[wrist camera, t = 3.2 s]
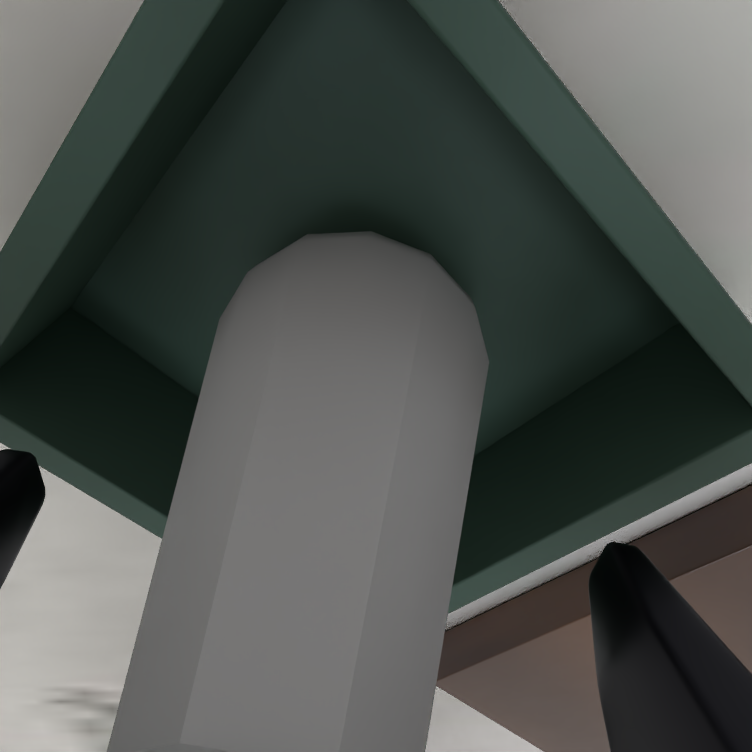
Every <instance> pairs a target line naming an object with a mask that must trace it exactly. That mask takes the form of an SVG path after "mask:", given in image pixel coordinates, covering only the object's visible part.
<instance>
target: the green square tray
mask: <svg viewBox="0 0 752 752" xmlns="http://www.w3.org/2000/svg"><path fill="white" fill-rule="evenodd" d="M366 231H372V232H375V233H377V234H380V235H382V236H385V237H387V238H390V239H393V240H395V241H398V242H400V243H403V244H406V245H408V246H411V247H413V248H416V249H419V250H421V251H424V252H426V253H429V254H431V255H432V256H433V257H434V258H435V259H436V261H437V262H438V263H439V264H440V265H441V266H442V267H443V268H444V269H445V270H446V271H447V272H448V274H449V275H450V276H451V277H452V278H453V279H454V280H455V281H456V282H457V283H458V284H459V285H460V287H461V288H462V289H463V290H464V291H465V292H466V293H467V294H468V295H469V296H470V297H471V299H472V302H473V304H474V306H475V309H476V313H477V316H478V320H479V324H480V328H481V332H482V336H483V340H484V343H485V347H486V351H487V355H488V359H489V366H488V372H487V378H486V384H485V391H484V397H483V403H482V409H481V415H480V421H479V427H478V433H477V439H476V445H475V451H474V457H473V463H472V469H471V476H470V482H469V488H468V494H467V500H466V506H465V512H464V518H463V524H462V530H461V536H460V542H459V548H458V554H457V560H456V567H455V573H454V579H453V585H452V591H451V597H450V603H449V609H448V614H449V613H451V612H453V611H455V610H457V609H459V608H461V607H463V606H465V605H467V604H469V603H471V602H473V601H475V600H477V599H479V598H481V597H483V596H485V595H487V594H489V593H491V592H493V591H495V590H497V589H499V588H501V587H503V586H505V585H507V584H509V583H511V582H513V581H515V580H517V579H519V578H521V577H523V576H525V575H527V574H529V573H531V572H533V571H535V570H537V569H539V568H541V567H543V566H545V565H547V564H549V563H551V562H553V561H555V560H557V559H559V558H561V557H563V556H565V555H567V554H569V553H571V552H573V551H575V550H577V549H579V548H581V547H583V546H585V545H588V544H590V543H592V542H594V541H596V540H598V539H600V538H602V537H604V536H606V535H608V534H610V533H612V532H614V531H616V530H618V529H620V528H622V527H624V526H626V525H628V524H630V523H632V522H634V521H636V520H638V519H640V518H642V517H644V516H646V515H648V514H650V513H652V512H654V511H656V510H658V509H660V508H662V507H664V506H666V505H668V504H670V503H672V502H674V501H676V500H678V499H680V498H682V497H684V496H686V495H688V494H690V493H692V492H694V491H696V490H698V489H700V488H702V487H704V486H706V485H708V484H710V483H712V482H714V481H716V480H718V479H720V478H722V477H724V476H726V475H728V474H731V473H733V472H735V471H737V470H739V469H741V468H743V467H745V466H747V465H749V464H751V463H752V324H751V323H750V322H749V320H748V319H747V318H746V316H745V315H744V314H743V313H742V311H741V310H740V309H739V307H738V306H737V305H736V304H735V302H734V301H733V300H732V299H731V297H730V296H729V295H728V293H727V292H726V291H725V290H724V288H723V287H722V286H721V284H720V283H719V282H718V281H717V279H716V278H715V277H714V276H713V274H712V273H711V272H710V270H709V269H708V268H707V267H706V265H705V264H704V263H703V261H702V260H701V259H700V258H699V256H698V255H697V254H696V253H695V251H694V250H693V249H692V247H691V246H690V245H689V244H688V242H687V241H686V240H685V238H684V237H683V236H682V235H681V233H680V232H679V231H678V230H677V228H676V227H675V226H674V224H673V223H672V222H671V221H670V219H669V218H668V217H667V215H666V214H665V213H664V212H663V210H662V209H661V208H660V207H659V205H658V204H657V203H656V201H655V200H654V199H653V198H652V196H651V195H650V194H649V192H648V191H647V190H646V189H645V187H644V186H643V185H642V184H641V182H640V181H639V180H638V178H637V177H636V176H635V175H634V173H633V172H632V171H631V169H630V168H629V167H628V166H627V164H626V163H625V162H624V161H623V159H622V158H621V157H620V155H619V154H618V153H617V152H616V150H615V149H614V148H613V146H612V145H611V144H610V143H609V141H608V140H607V139H606V138H605V136H604V135H603V134H602V132H601V131H600V130H599V129H598V127H597V126H596V125H595V123H594V122H593V121H592V120H591V118H590V117H589V116H588V115H587V113H586V112H585V111H584V109H583V108H582V107H581V106H580V104H579V103H578V102H577V100H576V99H575V98H574V97H573V95H572V94H571V93H570V92H569V90H568V89H567V88H566V86H565V85H564V84H563V83H562V81H561V80H560V79H559V77H558V76H557V75H556V74H555V72H554V71H553V70H552V69H551V67H550V66H549V65H548V63H547V62H546V61H545V60H544V58H543V57H542V56H541V54H540V53H539V52H538V51H537V49H536V48H535V47H534V46H533V44H532V43H531V42H530V40H529V39H528V38H527V37H526V35H525V34H524V33H523V31H522V30H521V29H520V28H519V26H518V25H517V24H516V23H515V21H514V20H513V19H512V17H511V16H510V15H509V14H508V12H507V11H506V10H505V8H504V7H503V6H502V5H501V3H500V2H499V1H498V0H144V2H143V4H142V5H141V7H140V9H139V11H138V12H137V14H136V16H135V18H134V19H133V21H132V23H131V25H130V26H129V28H128V30H127V32H126V33H125V35H124V37H123V39H122V40H121V42H120V44H119V46H118V47H117V49H116V51H115V53H114V54H113V56H112V58H111V60H110V61H109V63H108V65H107V66H106V68H105V70H104V72H103V73H102V75H101V77H100V79H99V80H98V82H97V84H96V86H95V87H94V89H93V91H92V93H91V94H90V96H89V98H88V100H87V101H86V103H85V105H84V107H83V108H82V110H81V112H80V114H79V115H78V117H77V119H76V121H75V122H74V124H73V126H72V128H71V129H70V131H69V133H68V135H67V136H66V138H65V140H64V142H63V143H62V145H61V147H60V149H59V150H58V152H57V154H56V156H55V157H54V159H53V161H52V163H51V164H50V166H49V168H48V170H47V171H46V173H45V175H44V177H43V178H42V180H41V182H40V184H39V185H38V187H37V189H36V191H35V192H34V194H33V196H32V198H31V199H30V201H29V203H28V205H27V206H26V208H25V210H24V212H23V213H22V215H21V217H20V219H19V220H18V222H17V224H16V226H15V227H14V229H13V231H12V233H11V234H10V236H9V238H8V240H7V241H6V243H5V245H4V247H3V248H2V250H1V252H0V443H2V444H4V445H5V446H7V447H9V448H10V449H12V450H18V451H25V452H30V453H32V454H33V455H34V456H35V457H36V460H37V463H38V465H39V466H41V467H42V468H44V469H46V470H47V471H49V472H51V473H52V474H54V475H56V476H58V477H59V478H61V479H63V480H64V481H66V482H68V483H69V484H71V485H73V486H74V487H76V488H78V489H79V490H81V491H83V492H84V493H86V494H88V495H89V496H91V497H93V498H94V499H96V500H98V501H100V502H101V503H103V504H105V505H106V506H108V507H110V508H111V509H113V510H115V511H116V512H118V513H120V514H121V515H123V516H125V517H126V518H128V519H130V520H131V521H133V522H135V523H136V524H138V525H140V526H142V527H143V528H145V529H147V530H148V531H150V532H152V533H153V534H155V535H157V536H158V537H160V538H163V534H164V530H165V526H166V523H167V519H168V515H169V511H170V507H171V503H172V500H173V496H174V492H175V488H176V484H177V480H178V476H179V473H180V469H181V465H182V461H183V457H184V453H185V450H186V446H187V442H188V438H189V434H190V430H191V426H192V423H193V419H194V415H195V411H196V407H197V403H198V400H199V396H200V392H201V388H202V384H203V380H204V376H205V373H206V369H207V365H208V361H209V357H210V353H211V350H212V346H213V342H214V338H215V334H216V330H217V326H218V323H219V319H220V317H221V315H222V314H223V312H224V310H225V309H226V307H227V305H228V304H229V302H230V300H231V299H232V297H233V295H234V294H235V292H236V290H237V289H238V287H239V285H240V284H241V282H242V280H243V279H244V277H245V275H246V274H247V272H248V271H250V270H251V269H252V268H254V267H255V266H256V265H258V264H259V263H261V262H262V261H264V260H266V259H267V258H269V257H271V256H272V255H274V254H275V253H277V252H279V251H280V250H282V249H284V248H285V247H287V246H289V245H290V244H292V243H294V242H295V241H297V240H298V239H300V238H302V237H303V236H305V235H307V234H324V233H345V232H366Z"/></svg>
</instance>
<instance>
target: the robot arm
mask: <svg viewBox="0 0 752 752" xmlns="http://www.w3.org/2000/svg"><path fill="white" fill-rule="evenodd" d="M44 499H45V486H44V483H43V479H42V476H41V473H40V469H39V466H38V463H37V460H36V457H35V456H34V455H33V454H32V453H30V452H25V451H18V450H12V449H5V450H1V451H0V588H1V587H2V585H3V583H4V581H5V579H6V577H7V575H8V573H9V571H10V569H11V567H12V565H13V563H14V561H15V559H16V557H17V555H18V553H19V551H20V549H21V547H22V545H23V543H24V541H25V539H26V537H27V535H28V533H29V531H30V529H31V527H32V525H33V523H34V521H35V519H36V517H37V515H38V513H39V511H40V509H41V507H42V505H43V502H44ZM588 588H589V600H590V611H591V622H592V632H593V643H594V654H595V665H596V674H597V683H598V690H599V695H600V701H601V706H602V711H603V716H604V721H605V726H606V731H607V736H608V741H609V746H610V751H611V752H752V673H751V672H750V671H749V670H748V669H747V668H746V667H745V666H744V665H743V663H742V662H741V661H740V660H739V659H738V658H737V657H736V656H735V654H734V653H733V652H732V651H731V650H730V649H729V648H728V647H727V646H726V644H725V643H724V642H723V641H722V640H721V639H720V638H719V637H718V635H717V634H716V633H715V632H714V631H713V630H712V629H711V628H710V627H709V625H708V624H707V623H706V622H705V621H704V620H703V619H702V618H701V617H700V615H699V614H698V613H697V612H696V611H695V610H694V609H693V608H692V606H691V605H690V604H689V603H688V602H687V601H686V600H685V599H684V598H683V596H682V595H681V594H680V593H679V592H678V591H677V590H676V589H675V587H674V586H673V585H672V584H671V583H670V582H669V581H668V580H667V579H666V577H665V576H664V575H663V574H662V573H661V572H660V571H659V570H658V568H657V567H656V566H655V565H654V564H653V563H652V562H651V561H650V560H649V558H648V557H647V556H646V555H645V554H644V553H643V552H642V551H641V550H640V549H639V548H638V547H636V546H634V545H629V544H623V543H616V542H611V543H609V544H607V545H606V547H605V548H604V550H603V552H602V553H601V555H600V557H599V559H598V561H597V562H596V564H595V566H594V568H593V570H592V571H591V574H590V577H589V584H588Z"/></svg>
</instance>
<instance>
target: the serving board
mask: <svg viewBox="0 0 752 752" xmlns="http://www.w3.org/2000/svg"><path fill="white" fill-rule="evenodd" d="M629 545H634V546H636V547H638V548H639V549H640V550H641V551H642V552H643V553H644V554H645V555H646V556H647V557H648V558H649V560H650V561H651V562H652V563H653V564H654V565H655V566H656V567H657V568H658V570H659V571H660V572H661V573H662V574H663V575H664V576H665V577H666V579H667V580H668V581H669V582H670V583H671V584H672V585H673V586H674V587H675V589H676V590H677V591H678V592H679V593H680V594H681V595H682V596H683V598H684V599H685V600H686V601H687V602H688V603H689V604H690V605H691V606H692V608H693V609H694V610H695V611H696V612H697V613H698V614H699V615H700V617H701V618H702V619H703V620H704V621H705V622H706V623H707V624H708V625H709V627H710V628H711V629H712V630H713V631H714V632H715V633H716V634H717V635H718V637H719V638H720V639H721V640H722V641H723V642H724V643H725V644H726V646H727V647H728V648H729V649H730V650H731V651H732V652H733V653H734V654H735V656H736V657H737V658H738V659H739V660H740V661H741V662H742V663H743V665H744V666H745V667H746V668H747V669H748V670H749V671H750V672H751V673H752V485H751V486H749V487H747V488H745V489H743V490H741V491H739V492H736V493H734V494H732V495H730V496H728V497H726V498H724V499H722V500H720V501H718V502H716V503H713V504H711V505H709V506H707V507H705V508H703V509H701V510H699V511H697V512H695V513H693V514H690V515H688V516H686V517H684V518H682V519H680V520H678V521H676V522H674V523H672V524H670V525H667V526H665V527H663V528H661V529H659V530H657V531H655V532H653V533H651V534H649V535H647V536H644V537H642V538H640V539H638V540H636V541H634V542H632V543H630V544H629ZM598 559H599V558H598ZM598 559H596V560H594V561H592V562H590V563H588V564H586V565H584V566H582V567H580V568H578V569H575V570H573V571H571V572H569V573H567V574H565V575H563V576H561V577H559V578H557V579H555V580H552V581H550V582H548V583H546V584H544V585H542V586H540V587H538V588H536V589H534V590H532V591H529V592H527V593H525V594H523V595H521V596H519V597H517V598H515V599H513V600H511V601H509V602H506V603H504V604H502V605H500V606H498V607H496V608H494V609H492V610H490V611H488V612H486V613H483V614H481V615H479V616H477V617H475V618H473V619H471V620H469V621H467V622H465V623H463V624H460V625H458V626H456V627H454V628H452V629H450V630H448V631H446V632H445V633H444V639H443V645H442V651H441V658H440V664H439V670H438V676H437V682H436V686H437V687H439V688H441V689H442V690H444V691H446V692H447V693H449V694H450V695H452V696H454V697H455V698H457V699H459V700H460V701H462V702H464V703H465V704H467V705H469V706H470V707H472V708H473V709H475V710H477V711H478V712H480V713H482V714H483V715H485V716H487V717H488V718H490V719H491V720H493V721H495V722H496V723H498V724H500V725H501V726H503V727H505V728H506V729H508V730H510V731H511V732H513V733H514V734H516V735H518V736H519V737H521V738H523V739H524V740H526V741H528V742H529V743H531V744H533V745H534V746H536V747H537V748H539V749H541V750H542V751H544V752H611V751H610V746H609V741H608V736H607V731H606V726H605V721H604V716H603V711H602V706H601V701H600V695H599V690H598V683H597V674H596V665H595V654H594V643H593V632H592V622H591V611H590V600H589V588H588V584H589V577H590V574H591V571H592V570H593V568H594V566H595V564H596V562H597V561H598Z"/></svg>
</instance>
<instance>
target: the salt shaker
mask: <svg viewBox="0 0 752 752" xmlns="http://www.w3.org/2000/svg"><path fill="white" fill-rule="evenodd" d="M488 366H489V359H488V355H487V351H486V347H485V343H484V340H483V336H482V332H481V328H480V324H479V320H478V316H477V313H476V309H475V306H474V304H473V302H472V299H471V297H470V296H469V295H468V294H467V293H466V292H465V291H464V290H463V289H462V288H461V287H460V285H459V284H458V283H457V282H456V281H455V280H454V279H453V278H452V277H451V276H450V275H449V274H448V272H447V271H446V270H445V269H444V268H443V267H442V266H441V265H440V264H439V263H438V262H437V261H436V259H435V258H434V257H433V256H432V255H431V254H429V253H426V252H424V251H421V250H419V249H416V248H413V247H411V246H408V245H406V244H403V243H400V242H398V241H395V240H393V239H390V238H387V237H385V236H382V235H380V234H377V233H375V232H372V231H366V232H345V233H324V234H307V235H305V236H303V237H302V238H300V239H298V240H297V241H295V242H294V243H292V244H290V245H289V246H287V247H285V248H284V249H282V250H280V251H279V252H277V253H275V254H274V255H272V256H271V257H269V258H267V259H266V260H264V261H262V262H261V263H259V264H258V265H256V266H255V267H254V268H252V269H251V270H250V271H248V272H247V274H246V275H245V277H244V279H243V280H242V282H241V284H240V285H239V287H238V289H237V290H236V292H235V294H234V295H233V297H232V299H231V300H230V302H229V304H228V305H227V307H226V309H225V310H224V312H223V314H222V315H221V317H220V319H219V323H218V326H217V330H216V334H215V338H214V342H213V346H212V350H211V353H210V357H209V361H208V365H207V369H206V373H205V376H204V380H203V384H202V388H201V392H200V396H199V400H198V403H197V407H196V411H195V415H194V419H193V423H192V426H191V430H190V434H189V438H188V442H187V446H186V450H185V453H184V457H183V461H182V465H181V469H180V473H179V476H178V480H177V484H176V488H175V492H174V496H173V500H172V503H171V507H170V511H169V515H168V519H167V523H166V526H165V530H164V534H163V538H162V542H161V546H160V550H159V553H158V557H157V561H156V565H155V569H154V573H153V576H152V580H151V584H150V588H149V592H148V596H147V600H146V603H145V607H144V611H143V615H142V619H141V623H140V626H139V630H138V634H137V638H136V642H135V646H134V649H133V653H132V657H131V661H130V665H129V669H128V673H127V676H126V680H125V684H124V688H123V692H122V696H121V699H120V703H119V707H118V711H117V715H116V719H115V723H114V726H113V730H112V734H111V738H110V742H109V746H108V749H107V752H425V749H426V742H427V736H428V730H429V724H430V718H431V712H432V706H433V700H434V694H435V688H436V682H437V676H438V670H439V664H440V658H441V651H442V645H443V639H444V633H445V627H446V621H447V615H448V609H449V603H450V597H451V591H452V585H453V579H454V573H455V567H456V560H457V554H458V548H459V542H460V536H461V530H462V524H463V518H464V512H465V506H466V500H467V494H468V488H469V482H470V476H471V469H472V463H473V457H474V451H475V445H476V439H477V433H478V427H479V421H480V415H481V409H482V403H483V397H484V391H485V384H486V378H487V372H488Z"/></svg>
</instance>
